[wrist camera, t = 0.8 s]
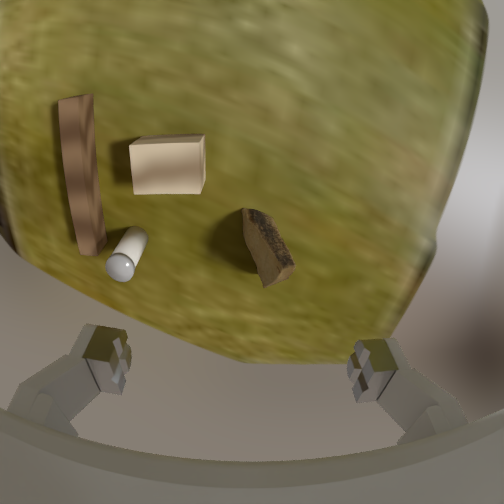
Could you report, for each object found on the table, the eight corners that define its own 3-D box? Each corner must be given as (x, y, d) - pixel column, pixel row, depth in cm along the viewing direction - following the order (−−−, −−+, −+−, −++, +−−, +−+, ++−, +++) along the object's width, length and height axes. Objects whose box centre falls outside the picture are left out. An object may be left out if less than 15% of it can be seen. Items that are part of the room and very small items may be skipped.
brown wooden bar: (74, 96, 30) (58, 100, 27) (93, 93, 30) (78, 97, 27) (90, 240, 42) (80, 254, 39) (107, 241, 42) (97, 256, 39)
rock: (288, 292, 45) (321, 245, 39) (255, 321, 39) (289, 271, 33) (237, 247, 48) (261, 197, 42) (199, 268, 42) (220, 212, 36)
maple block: (142, 135, 34) (129, 145, 30) (205, 133, 35) (199, 142, 30) (146, 179, 37) (134, 194, 33) (205, 179, 38) (200, 193, 34)
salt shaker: (123, 225, 41) (102, 256, 34) (147, 226, 41) (130, 258, 34) (126, 247, 43) (108, 280, 36) (150, 248, 43) (134, 282, 37)
